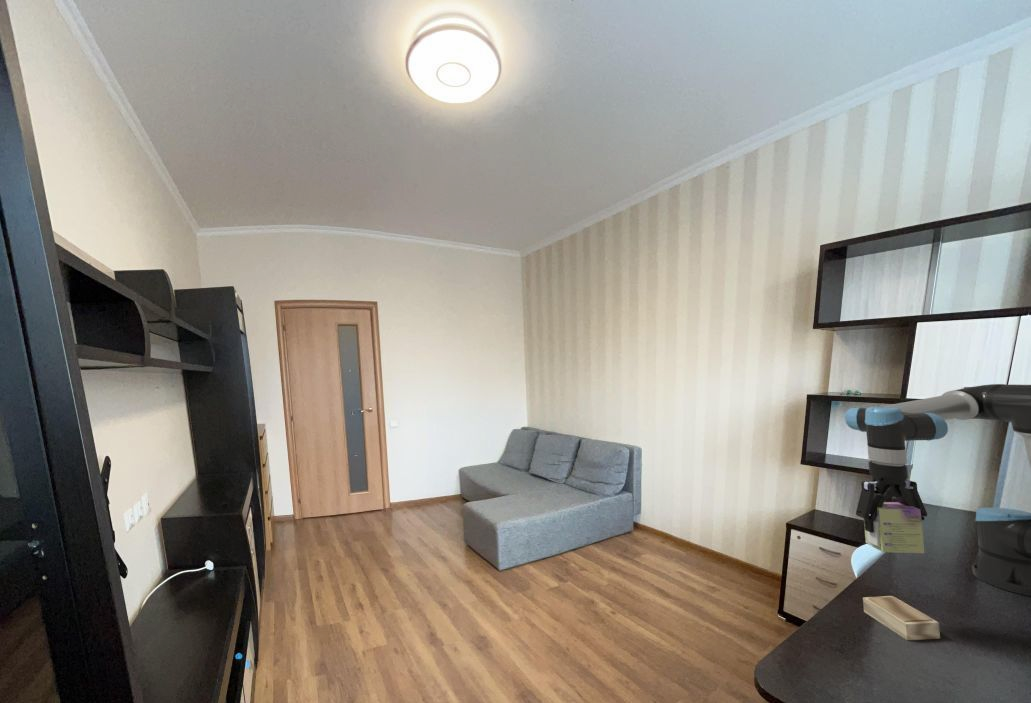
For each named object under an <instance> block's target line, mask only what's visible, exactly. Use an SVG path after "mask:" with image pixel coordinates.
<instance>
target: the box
mask: <svg viewBox="0 0 1031 703" xmlns="http://www.w3.org/2000/svg"><path fill="white" fill-rule="evenodd" d="M869 515H870V514H869ZM875 521H878V525H879V538H880V546H876V545H874V544H872V543H870V542H868V541H867V531H866V530H865V529H864V538H865V543H866V544H867V545H869V546H871V547H873V548H874V549H876V550H879V551H880V552H882V553H899V554H901V553H903V554H906V553H907V554H925V545H924V535H923V534H924V532H923V520H921V510H920V509H918V508H916V507H913V506H907V505H903V504H900V503H899V502H898V501H895V502H893V501H891V502H890V501H885V502H884V503H883V505H882V507H877V517H876V519H875ZM863 526H864V528H865V524H864V523H863Z"/></svg>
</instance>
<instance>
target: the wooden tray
mask: <svg viewBox="0 0 1031 703" xmlns="http://www.w3.org/2000/svg"><path fill="white" fill-rule="evenodd" d="M862 604H863V613H865V614H867V615H868V616H870V617H871V618H873V619H874V620H876V621H877V622H879V623H880V624H882V625H883V626H885V627H886V628H888V629H889V630H891V631H893V632H894V633H895V634H897V635H899V636H900V637H902V638H903V639H904V640H906V641H920V640H921V641H922V640H934V639H935V640H938V639H941V634H940V622H938V621H937V620H935V619H933V618H931V617H930V616H928V615H927V614H925V613H924V612H921V611H919V610H918V609H917V608H915V607H913V606H910V605H909V604H907V603H905V602H904V601H903V600H900V599H898V598H897V597H896V596H893V595H885V596H866V597H864V596H863V597H862Z"/></svg>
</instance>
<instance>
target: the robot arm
mask: <svg viewBox="0 0 1031 703" xmlns="http://www.w3.org/2000/svg"><path fill="white" fill-rule="evenodd" d="M953 419H956V420H961V421H966V420H972V419H973V420H985V421H986V420H989V421H998V422H1004V423H1011V426H1012V430H1013V433H1014V432H1015V433H1016V434H1018V435H1020V436H1022V437H1023V438H1022V439H1023V441H1024V445H1025V451H1026V455H1027V460H1028V464H1029V468H1030V470H1031V384H1003V383H996V384H995V383H993V384H982V385H975V386H971V387H964V388H960V389H953V390H948V391H946V392H944V393H942V394H941V395H938V396H933V397H927V398H922V399H915V400H911V401H905V402H897V403H893V404H887V405H882V406H881V405H880V406H870V407H867V408H866V407H852V408H849V409H848V410H847V411H846V412H845V415H844V420H845V424H846V425H847V426H848V427H849V428H850V429H852V430H854V431H859V432H862V433H866V441H867V456H868V460H869V461H868V471H869V474H870V475H871V476H872V480H871V481H865V480H862V481H861V483H860V484H861V491H860V494H859V498H858V499H859V500H858V503H857V507H856V511H855V515H856V517H859V518H863V525H864V524H865V527H864V531H865V530H866V531H867V541H868V542H870V543H872V544H874V545H876V546H880V538H879V525H878V521H875V519H876V517H877V507H882V505H883V503H884V502H887V501H888V500H889V499H890V498H895V499H896V501H897V502H899V503H900V504H903V505H907V506H913V507H916V508H918V509H920V510H921V520H922V521H925V519H926V518H925V517H928V512H927V510H926V507H925V505H924V502H923V501H922V497H921V496H920V493H919V491H918V484H917V483H918V482H916V481H913V480H908V478H909V475H908V474H909V473H908V467H907V466H906V464H908V461H907V459H908V458H907V449H906V442H907V441H910V442H911V441H912V442H913V441H928V442H929V441H933V440H940V439H943V438H944V437H945V436H946V435H948V432H949V427H948V423H947V421H948V420H953ZM869 514H870V515H869ZM975 522H976V524H975V525H976V531H977V532H976V533H977V543H978V544H977V545H978V554H977V556H976V557H975V560H974V561H973V564H972V567H971V569H972V574H973V576H975V578H977V579H978V580H980V581H982V582H984V583H986V584H989V585H991V586H993V587H996V588H999V589H1002V590H1004V591H1008V592H1011V593H1015V594H1019V595H1024V596H1028V597H1031V512H1028V511H1025V510H1019V509H1013V508H1004V507H989V506H988V507H980V508H977V509H976V511H975Z"/></svg>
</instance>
